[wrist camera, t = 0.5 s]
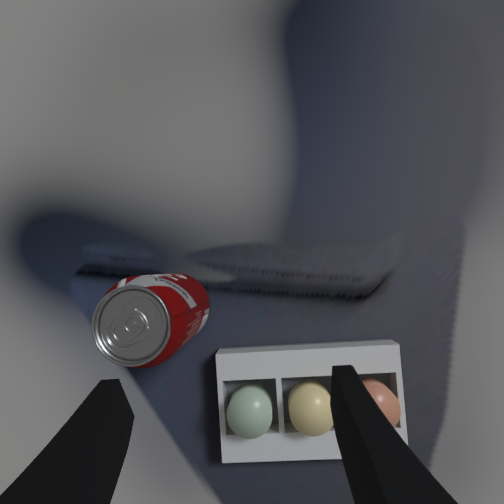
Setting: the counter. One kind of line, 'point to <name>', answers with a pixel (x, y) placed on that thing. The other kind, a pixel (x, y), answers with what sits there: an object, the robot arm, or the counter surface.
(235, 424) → the sage button
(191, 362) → the counter surface
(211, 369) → the counter surface
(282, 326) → the counter surface
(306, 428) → the mustard button
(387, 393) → the terracotta button
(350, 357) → the console
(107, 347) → the soda can
